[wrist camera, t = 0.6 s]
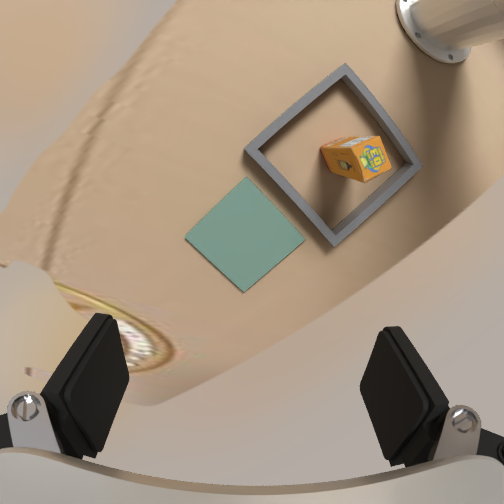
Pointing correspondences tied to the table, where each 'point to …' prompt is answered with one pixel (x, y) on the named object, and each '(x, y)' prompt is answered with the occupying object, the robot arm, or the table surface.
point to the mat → (245, 235)
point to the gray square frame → (385, 123)
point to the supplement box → (356, 157)
